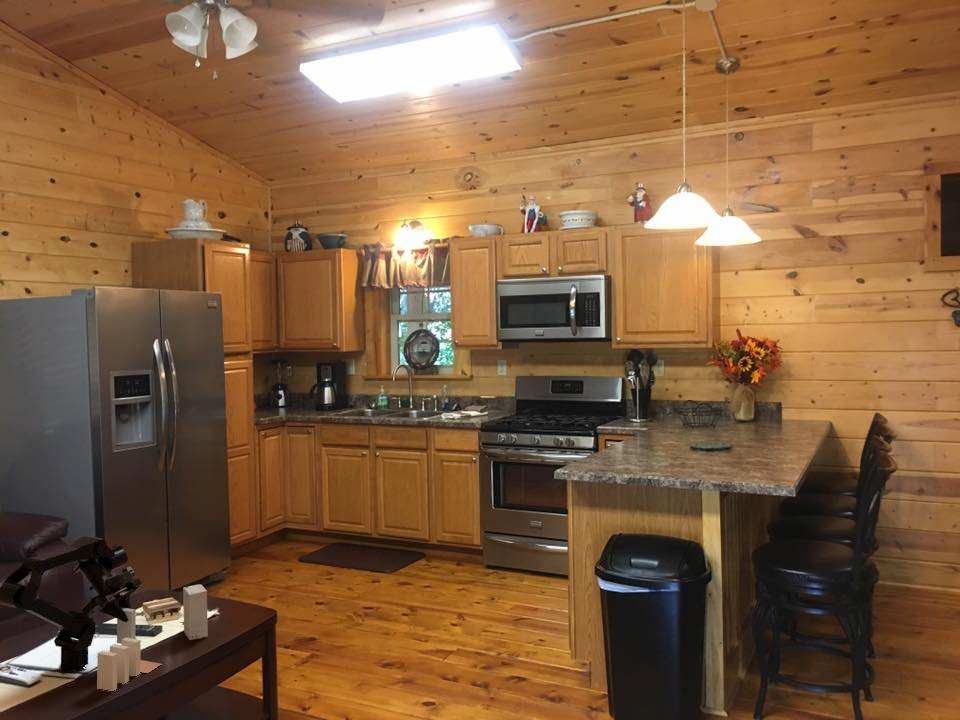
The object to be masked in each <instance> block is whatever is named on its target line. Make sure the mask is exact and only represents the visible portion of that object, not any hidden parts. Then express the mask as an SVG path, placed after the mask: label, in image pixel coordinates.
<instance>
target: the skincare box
mask: <svg viewBox="0 0 960 720" xmlns="http://www.w3.org/2000/svg"><path fill="white" fill-rule="evenodd" d="M182 595H183V597H182V599H183V604H182V605H183V632H184V634H185V636H186V637H187V639H188V640H189V641H192V640H198V639H199V640H200V639H204V638H203V637H205V638H208V635H209V633H208V630H209V629H208V625H209V624H208V623H209V622H208V590H207V589H206V588H205V587H204V586H203V585H202V584H194V585H190V586H189V585H188V586H185V587H183V588H182Z"/></svg>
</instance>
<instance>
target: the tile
mask: <svg viewBox="0 0 960 720" xmlns="http://www.w3.org/2000/svg"><path fill="white" fill-rule="evenodd" d="M160 665H162V666H163V663H159V662H153V661H149V660H144V659H143V660H142V659H140V672H142V673H149V672H151V671H152V670H154V669H155V668H157V667H158V666H160ZM160 667H161V666H160ZM157 669H158V668H157ZM154 671H155V670H154ZM142 673H141V674H142ZM151 673H152V672H151Z"/></svg>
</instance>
